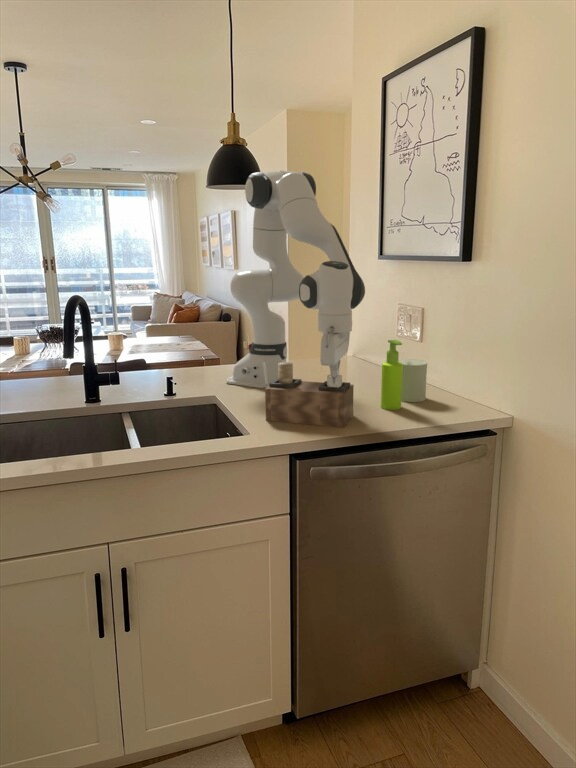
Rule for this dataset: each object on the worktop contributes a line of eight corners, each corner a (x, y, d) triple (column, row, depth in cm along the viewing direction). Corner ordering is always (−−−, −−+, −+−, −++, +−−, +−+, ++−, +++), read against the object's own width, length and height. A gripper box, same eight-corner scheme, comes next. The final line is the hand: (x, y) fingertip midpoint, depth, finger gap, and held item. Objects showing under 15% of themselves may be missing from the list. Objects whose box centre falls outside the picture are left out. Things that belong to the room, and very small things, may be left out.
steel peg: (325, 405, 152) (325, 377, 150) (329, 402, 155) (329, 373, 153) (339, 407, 150) (340, 377, 148) (343, 403, 154) (343, 374, 152)
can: (390, 399, 174) (392, 361, 171) (402, 393, 181) (403, 356, 178) (419, 403, 169) (421, 364, 166) (430, 397, 176) (432, 359, 173)
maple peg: (276, 393, 156) (276, 364, 154) (281, 389, 159) (281, 362, 157) (290, 394, 154) (289, 365, 152) (294, 390, 158) (294, 362, 156)
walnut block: (265, 420, 155) (265, 384, 152) (279, 409, 165) (279, 376, 162) (343, 427, 147) (344, 390, 145) (353, 415, 158) (353, 381, 155)
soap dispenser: (387, 411, 161) (390, 342, 156) (377, 405, 168) (379, 339, 163) (406, 409, 163) (408, 341, 158) (395, 403, 169) (397, 338, 165)
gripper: (339, 330, 137) (338, 385, 140) (353, 320, 156) (352, 368, 159) (314, 329, 139) (314, 383, 142) (331, 319, 158) (330, 367, 161)
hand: (334, 375), depth 151 cm, fingers closed, pressing on steel peg
